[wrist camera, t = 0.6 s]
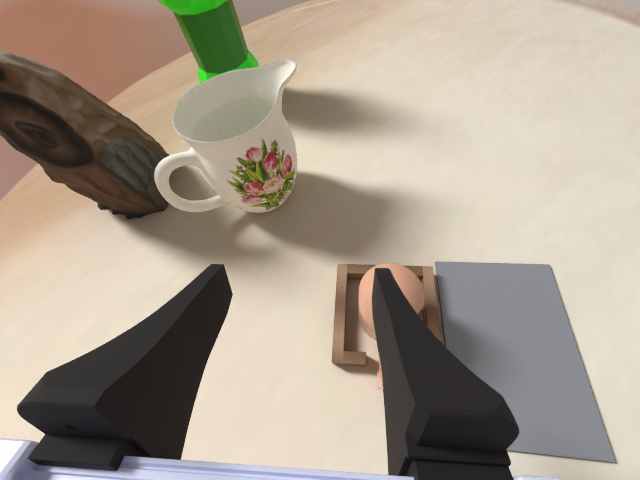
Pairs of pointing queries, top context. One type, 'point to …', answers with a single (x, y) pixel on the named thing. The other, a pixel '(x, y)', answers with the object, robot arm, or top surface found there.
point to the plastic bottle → (212, 35)
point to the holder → (343, 273)
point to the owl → (78, 138)
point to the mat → (523, 353)
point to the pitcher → (236, 140)
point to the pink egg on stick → (407, 285)
